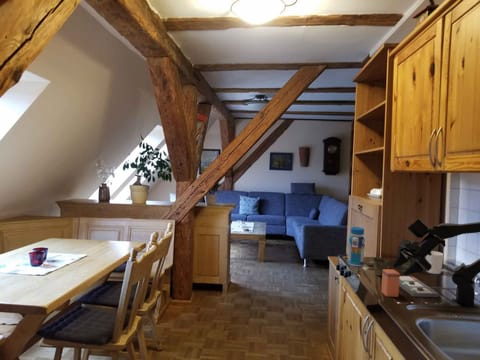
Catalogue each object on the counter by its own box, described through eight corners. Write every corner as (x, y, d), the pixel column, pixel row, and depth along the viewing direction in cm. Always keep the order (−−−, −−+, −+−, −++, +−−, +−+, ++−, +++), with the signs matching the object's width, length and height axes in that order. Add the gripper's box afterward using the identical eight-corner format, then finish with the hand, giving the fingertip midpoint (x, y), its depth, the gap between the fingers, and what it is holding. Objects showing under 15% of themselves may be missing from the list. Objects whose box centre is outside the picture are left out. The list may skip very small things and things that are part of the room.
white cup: (426, 268, 179) (427, 250, 178) (443, 271, 174) (444, 253, 174) (423, 271, 173) (424, 253, 172) (440, 275, 168) (442, 256, 167)
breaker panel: (438, 297, 141) (438, 291, 141) (412, 296, 141) (413, 290, 141) (413, 279, 161) (413, 274, 161) (390, 279, 161) (391, 274, 161)
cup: (385, 273, 169) (386, 257, 169) (390, 278, 162) (391, 262, 162) (370, 272, 170) (371, 256, 170) (374, 277, 163) (375, 261, 162)
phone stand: (396, 268, 177) (398, 246, 176) (397, 265, 182) (398, 244, 181) (416, 271, 173) (417, 249, 172) (416, 268, 178) (417, 246, 177)
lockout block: (398, 296, 141) (399, 273, 140) (386, 296, 141) (387, 273, 140) (392, 291, 146) (394, 269, 145) (381, 291, 146) (382, 269, 145)
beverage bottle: (344, 262, 185) (346, 226, 184) (357, 261, 188) (359, 226, 186) (353, 267, 177) (355, 230, 176) (367, 266, 180) (369, 229, 178)
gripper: (402, 227, 151) (377, 251, 151) (426, 238, 132) (396, 264, 133) (419, 245, 151) (393, 268, 152) (444, 258, 133) (414, 284, 133)
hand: (398, 270), depth 143 cm, fingers open, 9 cm apart
